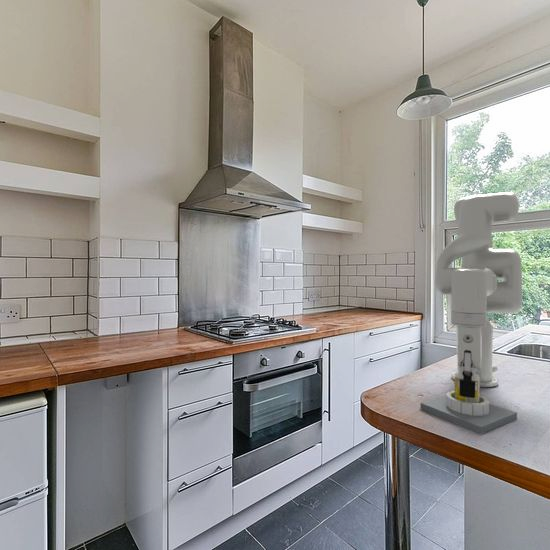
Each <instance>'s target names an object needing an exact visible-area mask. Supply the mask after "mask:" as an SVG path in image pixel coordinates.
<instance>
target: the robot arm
mask: <svg viewBox="0 0 550 550" xmlns="http://www.w3.org/2000/svg"><path fill="white" fill-rule="evenodd" d="M519 207H520V205H519V198H518V197H517V195H516V193H515V192H512V191H505V192H497V193H495V192H494V193H487V194H486V193H485V194H477V195H469V196H466V197H465V196H464V197H462V198H461V197H460V198H459V199H457V200H456V201H455V203H454V205H453V211H454V212H453V213H454V219H455V222H456V225H457V233H456V235H457V236H456V237H455V238H454V239H453V240H452V241H451V242H449V243H448V244H447V245H446V246H445V247H444V248H443V250H442V251H440V254H439V256H438V257H437V261H436V268H435V273H434V274H435V276H434V286H435V290H436V291H437V292H438V293H439V294H440V295H443V296H450V297H451V299H450V302H451V303H450V324H451V325H452V326H456V328H455V329H456V331H455V332H456V333H455V334H456V335H455V337H456V339H455V340H456V359H457V362H456V363H457V368H456V369H457V371H454V372H452V373H451V378H452V379H453V380H454V381H455V373H456V372H458V371H459V370H458V366H459V367H461V379H460V396H463V397H469V398H475V381H474V366H475V368H477V372H476V374H477V375H478V376H479V377H480V388H493V387H496V386H498V385H499V380H498V379H497V378H496V377H494V376H493V373H495V372H497V371H498V367H497V366H496V365H493V346H494V345H493V344H494V343H493V341H494V340H493V337H494V335H493V334H494V332H493V331H494V330H493V329H494V327H493V325H492V323H491V321H490V320H489V319H488V318H487V313H494V314H516V313H518V312H519V311H521V308H522V304H523V277H522V276H523V273H522V272H523V271H522V269H523V267H522V259H521V255H520V253H519V252H517V250H515V249H509V248H498V249H497V248H496V249H494V248H493V240H494V239H493V235H492V229H493V227H492V226H493V224H500V223H501V224H502V223H511V222H512V223H513V222H514V221H515V220H516V219H517V217H518V215H519V210H520V208H519ZM458 259H461V267H449V266H450V265H451V264H453V262H455V261H457V260H458ZM498 280H501V281H498ZM463 364H465V367H464V366H463ZM472 364H473V365H472ZM471 365H472V367H471ZM463 369H464V371H463ZM470 370H472V372H470ZM471 376H472V378H471Z"/></svg>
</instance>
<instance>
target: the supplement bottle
mask: <svg viewBox="0 0 550 550" xmlns="http://www.w3.org/2000/svg"><path fill="white" fill-rule="evenodd" d="M472 365H473V364H472ZM472 365H471V367H472ZM463 366H464V367H465V364H463ZM458 370H459V371H458V372H457V371H455V372H456V373H455V380H454V391H455V399H457V400H460V401H463V402H468V403H479V395H481V394H480V393H481V392H480V388H481V387H480V377H479V376H478V375H477V374H476V372H477V368H475V366H474V381H475V398H469V397H463V396H460V379H461V367H459V366H458ZM463 371H464V369H463ZM470 372H472V370H470ZM471 378H472V376H471Z"/></svg>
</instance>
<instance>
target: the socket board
mask: <svg viewBox="0 0 550 550" xmlns="http://www.w3.org/2000/svg"><path fill="white" fill-rule="evenodd" d="M419 409H421V410H422V411H425V412H428V413H430V414H432V415H435V416H437V417H440V418H442V419H444V420H447V421H449V422H452V423H454V424H456V425H458V426H461V427H463V428H466V429H468V430H470V431H473V432H476V433H478V434H480V435H482V434H485V433H487V432H490V431H492V430H494V429H496V428H499V427H502V426H504V425H505V424H508V423H510V422H513V421H515V420H517V419H518V412H516V411H513V410H510V409H507V408H504V407H501V406H498V405H495V404H492V403H490V400H489V398H488V397H486V396H484V395H482V394H480V395H479V403H468V402H463V401H460V400H457V399H455V390H449V391H447V392H446V394H445V395H440V396H439V397H438V396H437V397H435V398H432V399H428V400H425V401H421V402H420V408H419Z"/></svg>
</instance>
